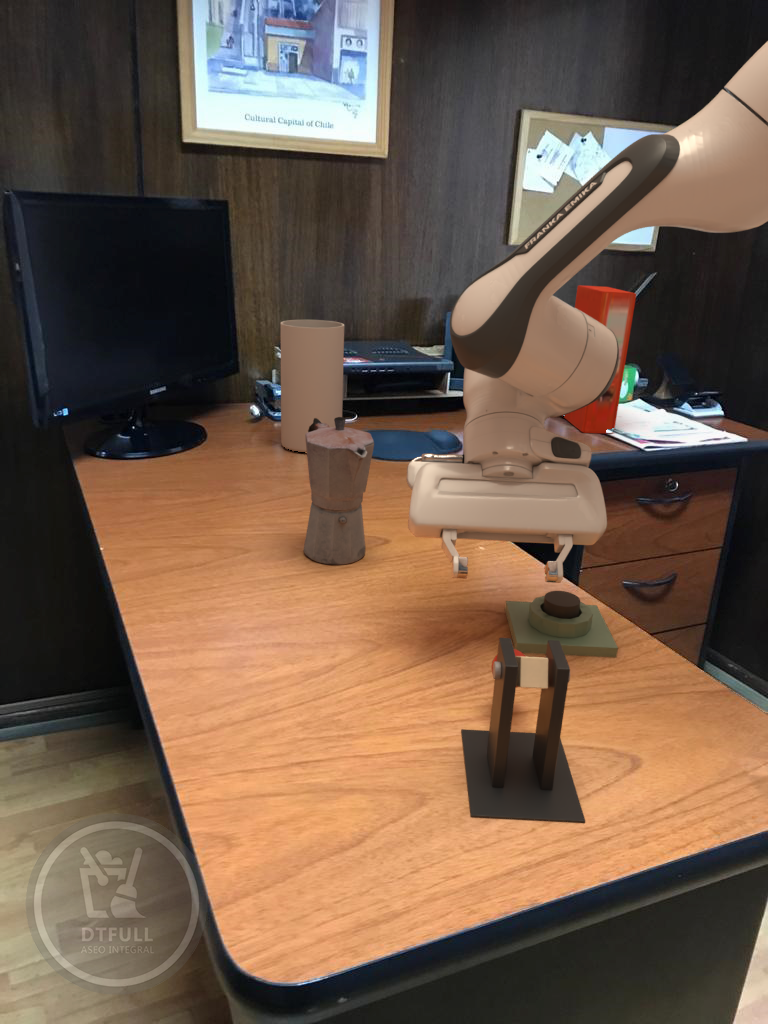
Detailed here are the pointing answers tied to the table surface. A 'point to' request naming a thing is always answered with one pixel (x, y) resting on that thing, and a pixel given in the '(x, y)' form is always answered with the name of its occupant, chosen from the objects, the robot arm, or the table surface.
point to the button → (561, 604)
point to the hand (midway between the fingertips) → (506, 578)
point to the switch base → (522, 750)
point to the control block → (559, 630)
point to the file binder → (617, 316)
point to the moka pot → (337, 491)
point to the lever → (530, 671)
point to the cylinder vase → (310, 377)
